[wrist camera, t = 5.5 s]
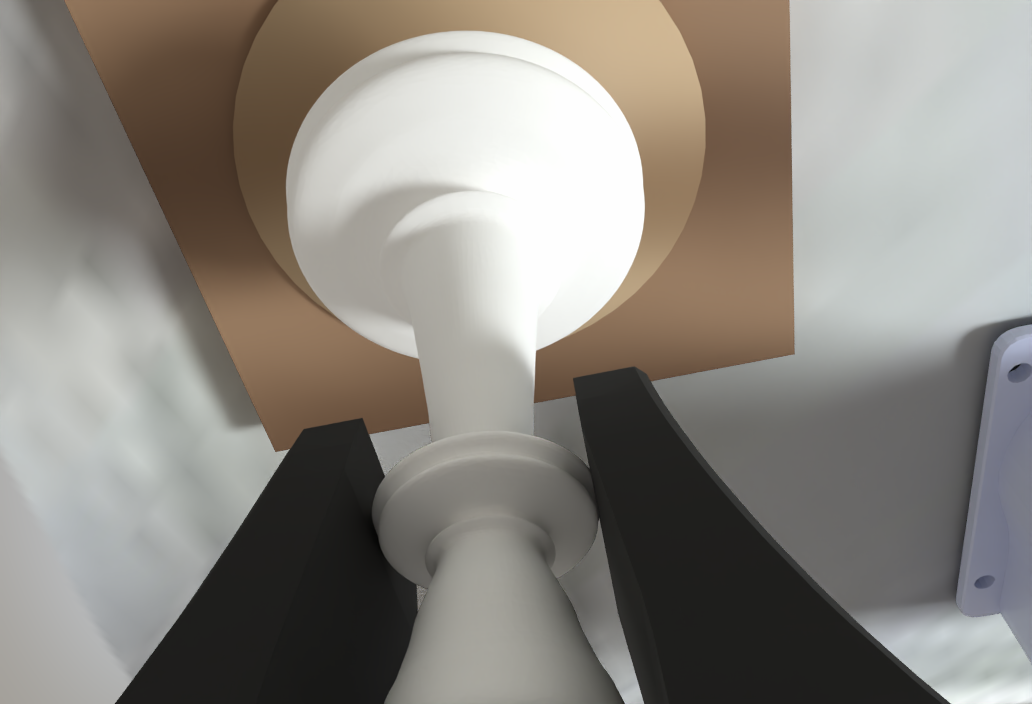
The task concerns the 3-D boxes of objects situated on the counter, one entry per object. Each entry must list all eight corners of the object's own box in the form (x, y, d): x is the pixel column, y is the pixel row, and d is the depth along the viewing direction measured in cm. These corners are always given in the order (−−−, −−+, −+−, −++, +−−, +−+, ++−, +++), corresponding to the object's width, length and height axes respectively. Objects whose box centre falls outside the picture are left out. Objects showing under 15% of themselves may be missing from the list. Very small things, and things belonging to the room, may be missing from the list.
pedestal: (779, 327, 19) (797, 359, 18) (282, 421, 20) (274, 458, 19) (763, -297, 13) (789, -298, 12) (36, -127, 14) (4, -115, 13)
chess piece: (397, 380, 15) (366, 1233, 7) (211, 130, 12) (-187, 1149, 4) (685, 266, 14) (1013, 1123, 6) (564, -42, 11) (911, 899, 3)
